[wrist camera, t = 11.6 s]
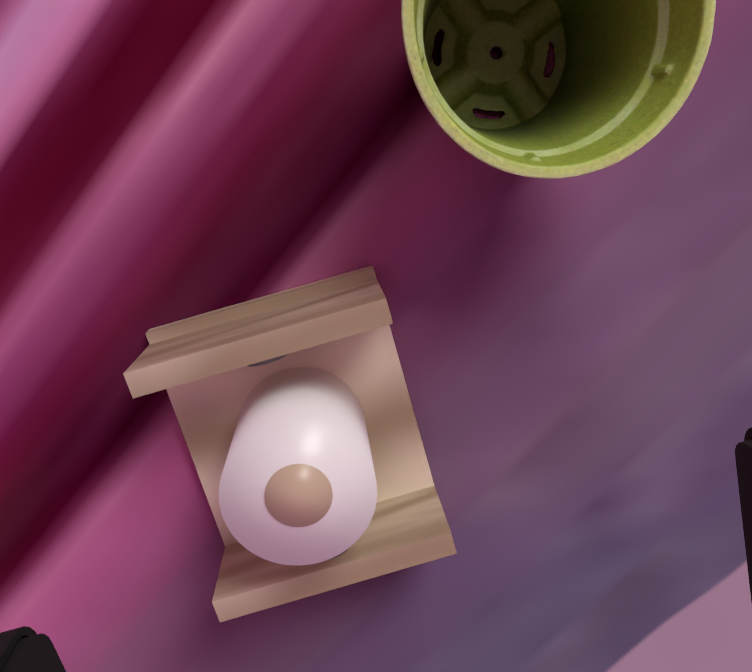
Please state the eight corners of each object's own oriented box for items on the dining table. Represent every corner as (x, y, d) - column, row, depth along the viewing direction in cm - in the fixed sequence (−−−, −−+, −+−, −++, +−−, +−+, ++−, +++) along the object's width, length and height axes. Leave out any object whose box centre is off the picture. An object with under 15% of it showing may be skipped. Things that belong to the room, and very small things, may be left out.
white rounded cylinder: (221, 387, 31) (196, 447, 24) (345, 351, 31) (353, 402, 24) (260, 500, 32) (247, 585, 26) (379, 466, 32) (395, 542, 26)
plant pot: (370, 166, 30) (392, 170, 21) (384, -84, 27) (413, -189, 19) (586, 178, 31) (688, 186, 22) (616, -63, 28) (742, -155, 20)
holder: (149, 329, 31) (118, 361, 26) (372, 265, 31) (382, 285, 26) (237, 564, 34) (223, 632, 29) (439, 505, 34) (459, 563, 29)
